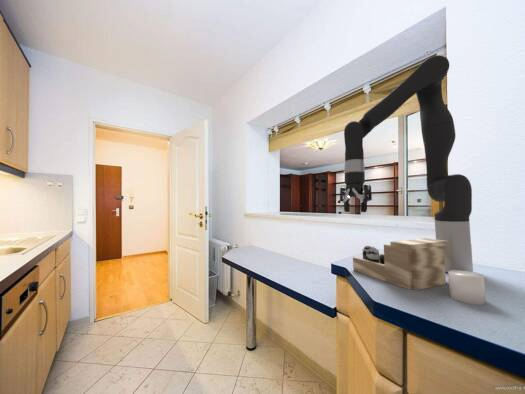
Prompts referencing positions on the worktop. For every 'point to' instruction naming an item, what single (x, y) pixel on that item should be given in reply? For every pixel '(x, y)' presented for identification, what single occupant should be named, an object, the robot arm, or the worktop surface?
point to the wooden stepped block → (408, 264)
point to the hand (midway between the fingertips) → (354, 212)
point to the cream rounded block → (467, 287)
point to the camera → (372, 255)
